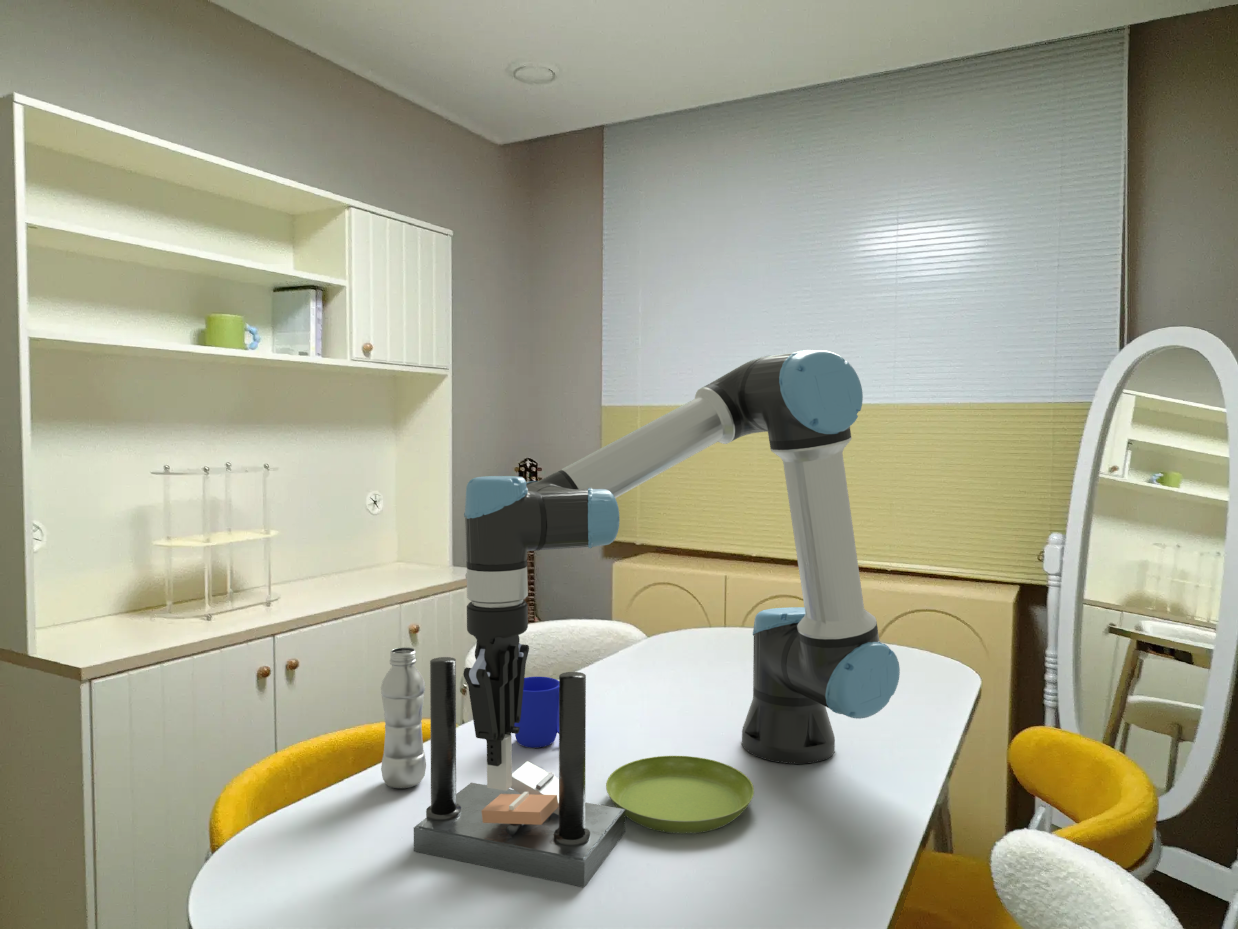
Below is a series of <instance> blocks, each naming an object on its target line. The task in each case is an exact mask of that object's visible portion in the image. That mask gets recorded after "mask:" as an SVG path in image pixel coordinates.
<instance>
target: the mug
mask: <svg viewBox="0 0 1238 929" xmlns="http://www.w3.org/2000/svg"><path fill="white" fill-rule="evenodd" d="M514 726H515V727H520V730H519V733H518V734H514V735H515V739H516V742H517V743H518V744H519V745H520V746H523V747H524V748H525V747H526V748H530V749H531V748H532V749H534V748H535V749H536V748H537V749H539V748H545V747H547V746H550V745H551V744H553V743H554V742H555V740H556V737H557V734H558V735H559V680H558V679H556V678H553V677H548V676H527V677H524V688H523V698H522V709H521V719H520V722H519V723H515V724H514Z"/></svg>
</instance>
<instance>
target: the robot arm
mask: <svg viewBox="0 0 1238 929" xmlns="http://www.w3.org/2000/svg"><path fill="white" fill-rule="evenodd" d="M863 394H864V393H863V387H862V383H861V380H860V377H859V376H858V373H857V372H856V370H855V368H854V367H853V366H852V364H850V363H849V361H847V360H846V359H844V358H843V357H842V356H841V355H839V354H837V353H835V352H832V351H829V350H823V349H822V350H821V349H818V350H817V349H815V350H813V349H806V350H805V349H802V350H799V351H795V352H788V353H782V354H774V355H766V356H765V355H764V356H761V357H758V358H757V357H756V358H754V359H752V360H750V361H747V362H745V363H743V364H741V365H740V366H738V367H736V368H735V369H733V370H731V371H729V372H727V373H726V374H723V375H722V376H720V377H719V378H717V379H715V380H713V381H712V382H710V383H708V384H706V385H704V386H702V387H701V388H699V389H697V391H696V392H695V395H694V399H691V400H690V401H688V402H686V403H684V404H683V405H680V406H678V407H676V408H675V409H673V410H671V411H669V412H667V413H665V414H663V415H661V416H659V417H658V418H656V419H653V420H652V421H650V422H648V423H647V424H645V425H643V426H641V427H638V428H637V429H635V430H633V431H632V432H629V433H628V434H626V435H624V436H622V437H619V438H618V439H616V440H614V441H613V442H611V443H608V444H607V445H605V446H603V447H600V448H598V449H597V450H595V451H593V452H591V453H590V454H587V455H586V456H584V457H582V458H580V459H578V460H576V461H575V462H572V463H570V464H568V465H567V466H565V467H563V468H561V469H560V470H558V471H556V472H553V473H552V474H550V475H548V476H546V477H544V478H543V479H539V480H531V481H527V482H526V479H525V478H523V476H515V475H514V476H513V475H504V476H503V475H490V476H489V475H488V476H476V477H474V478H472V479H470V480H469V481H468V482H467V484H466V490H465V503H464V504H465V506H464V507H465V508H464V514H463V516H464V518H465V519H464V520H465V521H464V522H465V526H464V527H465V549H466V552H465V555H466V564H465V565H466V566H465V567H466V572H465V580H466V598H467V600H468V601H470V602H469V603H468V604H467V605H466V630H467V632H468V634H469V635H471V636H473V637H474V638H475V639H476V644H475V650H474V658H475V661H474V663H473V665H472V667H468V666H467V667H464V670H463V678H464V680H465V682H466V684H467V688H468V693H469V701H470V707H471V713H472V714H471V715H472V721H473V726H474V727H473V728H474V732H475V738H476V739H480V740H481V739H482V740H485V741H486V780H487V781H486V785H487V788H493V789H499V790H505V791H507V790H508V789H511V788H510V787H511V786H512V773H513V759H512V758H513V756H512V755H513V754H512V751H513V750H512V746H513V745H512V734H514V735H515V734H518V733H519V730H520V727H515V726H514V724H515V723H519V722H520V719H521V709H522V698H523V688H524V678H526V677H525V675H526V665H527V660H528V655H529V652H530V646H529V645H528V644H524V643H523V644H522V643H521V642H520V635H522V634H524V633H525V632H526V631H527V630H528V627H529V621H528V620H529V618H528V617H529V615H528V613H529V612H528V611H529V610H528V608H529V606H528V605H529V604H528V603H527V601H526V598H527V597H528V596H529V588H528V587H529V586H528V552H530V551H531V552H538V551H544V550H560V549H561V550H562V549H564V550H565V549H566V550H567V549H579V548H588V549H592V548H594V547H600V546H608V545H611V543H614V541H615V539H616V538H617V536H618V533H619V529H620V509H619V504H618V502H617V498H618V497H621V496H622V495H624V494H626V493H627V492H629V491H631V490H633V489H635V488H637V487H638V486H640V485H642V484H644V483H646V482H647V481H649V480H651V479H653V478H655V477H656V476H658V475H660V474H661V473H664V472H666V471H668V470H669V469H671V468H673V467H675V466H677V465H678V464H680V463H682V462H684V461H685V460H688V459H689V458H691V457H693V456H694V455H696V454H698V453H700V452H702V451H704V450H705V449H707V448H709V447H711V446H713V445H715V444H716V443H721V444H723V445H728V444H729V443H732V442H734V441H735V440H737V439H739V438H741V437H745V436H747V435H751V434H759V433H767V436H768V441H769V448H770V451H771V452H772V453H774V454H775V455H776V456H778V457H779V458H780V459H781V460H782V463H783V471H784V477H785V484H786V490H787V497H788V506H789V511H790V518H791V525H792V531H793V537H794V544H795V545H794V546H795V551H796V559H797V566H798V573H799V578H800V580H799V581H800V587H801V592H802V594H801V595H802V600H803V606H804V607H798V606H796V607H795V606H793V607H791V606H789V607H776V608H767V609H763V610H761V611H759V612H758V613H757V614H756V615H755V617H754V623H753V631H752V636H753V655H752V656H753V658H752V659H753V661H752V662H753V667H752V670H753V673H752V674H753V675H752V676H753V678H752V680H753V681H752V686H753V688H752V700H751V703H750V706H749V708H748V712H747V715H746V716H745V717H746V718H745V720H744V724H743V726H742V728H741V729H742V730H741V745H742V747H743V749H744V750H746V751H747V752H748V753H749V754H751V755H754V756H755V757H758V758H761V759H764V760H767V761H771V762H777V763H783V764H792V765H793V764H794V765H795V764H798V765H799V764H802V765H803V764H812V763H819V762H822V761H824V760H825V761H826V760H827V759H829V758H831V757H832V756H833V755H834V754H835V750H836V749H835V747H836V746H835V745H836V743H835V741H836V739H835V733H834V730H833V726H832V724H831V721H830V716H829V713H828V711H827V708H828V709H829V710H831V711H832V712H833V713H835V714H838V715H843V716H846V717H848V718H851V719H856V720H857V719H859V720H861V719H867V718H869V717H872V716H874V715H876V714H877V713H879V712H881V711H882V710H883V709H884V708H885V707H886V706H887V705H888V703H889V702H890V700H891V698H892V697H893V695H895V693H896V690H897V688H898V685H899V681H900V674H901V672H900V671H901V669H900V668H901V667H900V662H899V658H898V656H897V655H896V653H895V652H894V650H892V649H891V648H890V646H888V645H887V644H886V643H882V642H881V641H880V636H879V629H878V622H877V618H876V616H875V615H873V614H872V613H871V612H869V611H867V610H866V609H865V606H864V604H865V603H864V597H863V596H864V595H863V590H862V583H861V582H862V581H861V576H860V570H859V569H860V568H859V563H858V554H857V546H856V541H855V534H854V526H853V518H852V513H851V512H852V510H851V504H850V499H849V498H850V497H849V490H848V483H847V475H846V467H845V462H844V455H843V454H844V453H843V452H844V450H845V448H846V447H847V446H848V445H849V443H850V442H851V440H852V439H853V438H852V433H851V426H852V425H854V423H855V422H856V421H857V419H858V417H859V415H858V413H859V412H861V410H862V406H863V400H864V399H863V398H864V396H863Z"/></svg>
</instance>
